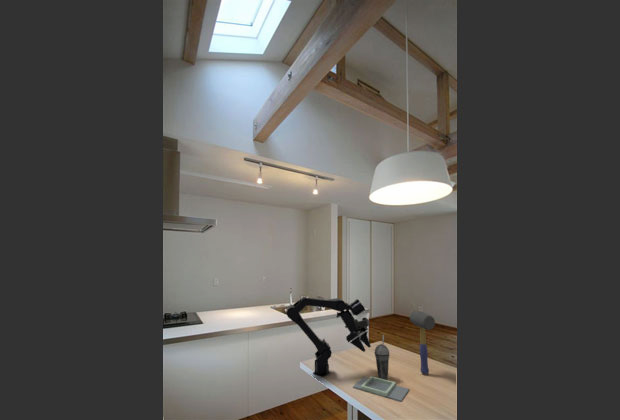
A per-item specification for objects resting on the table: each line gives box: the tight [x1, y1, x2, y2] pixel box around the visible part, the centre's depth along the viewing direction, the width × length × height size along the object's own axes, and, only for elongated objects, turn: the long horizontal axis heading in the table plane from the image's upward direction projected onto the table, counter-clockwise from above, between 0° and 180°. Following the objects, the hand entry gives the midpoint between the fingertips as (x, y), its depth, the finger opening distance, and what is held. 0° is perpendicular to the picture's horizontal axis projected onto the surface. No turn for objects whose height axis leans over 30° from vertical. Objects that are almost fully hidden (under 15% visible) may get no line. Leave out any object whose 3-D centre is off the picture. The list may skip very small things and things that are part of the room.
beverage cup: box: [374, 334, 390, 380], centre depth 142 cm, size 7×7×20 cm
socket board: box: [352, 375, 410, 403], centre depth 130 cm, size 22×12×2 cm, turn 56°
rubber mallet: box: [409, 310, 436, 376], centre depth 147 cm, size 12×8×30 cm, turn 16°
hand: (367, 349), depth 143 cm, fingers open, 9 cm apart
